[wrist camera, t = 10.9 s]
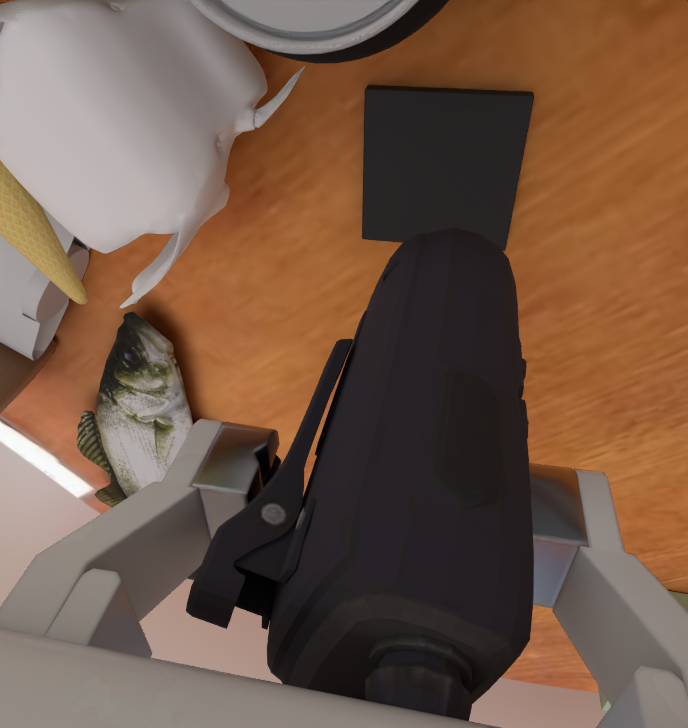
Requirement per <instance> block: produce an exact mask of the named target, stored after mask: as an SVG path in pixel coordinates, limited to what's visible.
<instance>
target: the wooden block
mask: <svg viewBox="0 0 688 728" xmlns="http://www.w3.org/2000/svg"><path fill="white" fill-rule="evenodd" d="M55 348H56V343H55V342H54V340H51V342H50V343H49V345H48V347H47V348H46V350H45V351H44V353H43V354H42V355H41V356H40V357H39V358H38V359H37V360H34V361H33V360H31V359H30V358H28V357H26V356H24V355H22V354H21V353H19V352H17V351H15V350H14V349H12V348H10V347H8V346H6V345H5V344H3V343H1V342H0V413H1V412H2V411H3V410H4V409H5V408H6V407H7V406H8V405H9V404H10V403H11V402H12V401H13V400H14V399H15V398H16V397H17V396H18V394H19V393H20V392H21V391H22V390H23V389H24V388H25V387H26V386H27V385H28V384H29V383H30V382H31V381H32V380H33V379H34V378H35V376H36V375H37V374H38V372H39V371H40V370H41V368H42V367H43V366H44V364H45V363H46V362H47V360H48V359H49V358H50V356H51V355H52V354H53V352H54V351H55Z"/></svg>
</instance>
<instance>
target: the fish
mask: <svg viewBox="0 0 688 728" xmlns="http://www.w3.org/2000/svg"><path fill="white" fill-rule="evenodd" d="M123 318H124V323H123V324H122V325H121V326H120V327H119V329H118V332H117V338H116V341H115V343H114V345H113V348H112V350H111V352H110V354H109V356H108V359H107V361H106V365H105V369H104V373H103V376H102V379H101V383H100V389H99V393H98V396H97V403H96V413H97V416H96V415H95V414H94V413H93V412H92V411H84V412H82V413H81V421H80V423H79V425H78V434H79V435H78V437H77V445H78V449H79V451H80V452H81V453H82V454H83V456H85V457H86V458H87V459H89V460H90V461H92V462H93V463H95V464H96V465H98V466H100V467H101V468H103V469H104V470H105V471H106V472H107V474H108V475H109V476H110V479H111V482H112V483H111V484H109V485H108V486H107V487H105V488H102V489H100V490H98V491H97V492H96V494H95V496H96V497H97V498H98V499H99V501H101V502H103V503H105V504H107V505H109V506H111V507H114V506H115V505H117V504H119V503H120V502H122V501H123V500H125V499H127V498H128V497H130V496H131V495H133V494H135V493H136V492H138V491H139V490H141V489H143V488H144V487H146V486H147V485H149V484H150V483H152V482H154V481H155V482H162V480H163V478H164V477H165V475H166V473H167V471H168V469H169V468H170V466H171V464H172V462H173V461H174V459H175V457H176V455H177V453H178V452H179V450H180V448H181V446H182V444H183V443H184V441H185V439H186V437H187V436H188V434H189V432H190V430H191V428H192V427H193V421H192V416H191V411H190V408H189V405H188V402H187V398H186V394H185V388H184V384H183V379H182V375H181V372H180V368H179V366H178V364H177V362H176V360H175V356H174V352H173V350H174V348H173V344H172V343H171V342H170V341H169V340H168V339H166V338H165V337H164V336H163V335H161V334H160V333H159V332H158V331H157V330H156V329H154V328H153V327H152V326H151V325H150V324H149V323H148V322H147V321H146V320H145V319H143V318H141V317H140V316H138V315H137V314H136V313H134V312H129V313H126V314H125V315H124V317H123ZM199 569H200V567H199V568H197V569H196V570H195V571H194V572H193V573H192V574H191V575H190V576H189V577H188V579H192V580H195V577H196V575H197V573H198V571H199Z"/></svg>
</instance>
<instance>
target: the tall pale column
mask: <svg viewBox="0 0 688 728" xmlns="http://www.w3.org/2000/svg"><path fill="white" fill-rule="evenodd" d="M43 211H44V212H45V214H46V216H47V218H48V220H49V222H50V224H51V226H52V228H53V229H54V231H55V233H56V235H57V237H58V239H59V241H60V243H61V245H62V247H63V248H64V250H65V252H66V254H67V256H68V258H69V260H70V262H71V264H72V265H73V267H74V269H75V271H76V273H77V275H78V277H79V279H80V281H81V280H82V278H83V276H84V274H85V272H86V269H87V266H88V262H89V253H88V251H89V250H90V247H89V246H87V245H85V244H84V243H83V242H81V241H80V240H79V239H78V238H76V237H75V236H74V235H72V234H71V233H70V232H69V231H68V230H67V229H65V228H64V227H63V226H62V225H61V224H60V223H59V222H58V221H57V220H56V219H55V218H54V217H53V216H52V215H50V214H49V213H48V212H47V211H46V210H45V209H44V210H43ZM76 243H77V244H76ZM81 246H82V247H81ZM86 249H87V250H86ZM69 299H70V297H69V296H68V295H66V294H65V293H64V292H63V291H62V290H61V289H60V288H59V287H58V286H56V285H55V284H54V283H53V282H52V281H51V280H50V279H49V278H47V277H46V276H45V275H44V274H43V273H42V272H41V271H40V270H39V269H37V268H36V267H35V266H34V265H33V264H32V263H31V262H30V261H29V260H27V259H26V258H25V257H24V256H23V255H22V254H21V253H20V252H18V251H17V250H16V249H15V248H14V247H13V246H12V245H11V244H10V243H8V242H7V241H6V240H5V239H4V238H3V237H2V236H1V235H0V342H1V343H3V344H5V345H6V346H8V347H10V348H12V349H14V350H15V351H17V352H19V353H21V354H22V355H24V356H26V357H28V358H30V359H31V360H33V361H34V360H37V359H38V358H39V357H40V356H41V355H42V354H43V353H44V351H45V350H46V348H47V347H48V345H49V343H50V342H51V340H52V339H53V337H54V334H55V332H56V330H57V328H58V326H59V324H60V321H61V319H62V317H63V315H64V313H65V310H66V308H67V306H68V304H69Z"/></svg>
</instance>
